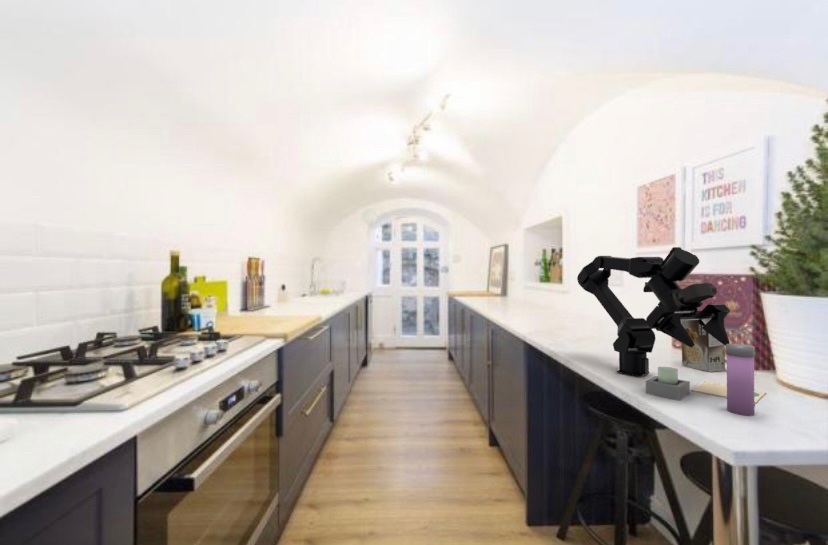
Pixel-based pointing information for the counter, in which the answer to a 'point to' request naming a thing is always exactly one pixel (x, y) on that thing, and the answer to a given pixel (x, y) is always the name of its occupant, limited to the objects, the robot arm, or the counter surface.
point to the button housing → (668, 388)
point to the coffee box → (702, 349)
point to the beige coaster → (721, 390)
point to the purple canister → (740, 379)
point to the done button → (668, 375)
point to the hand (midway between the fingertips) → (710, 345)
